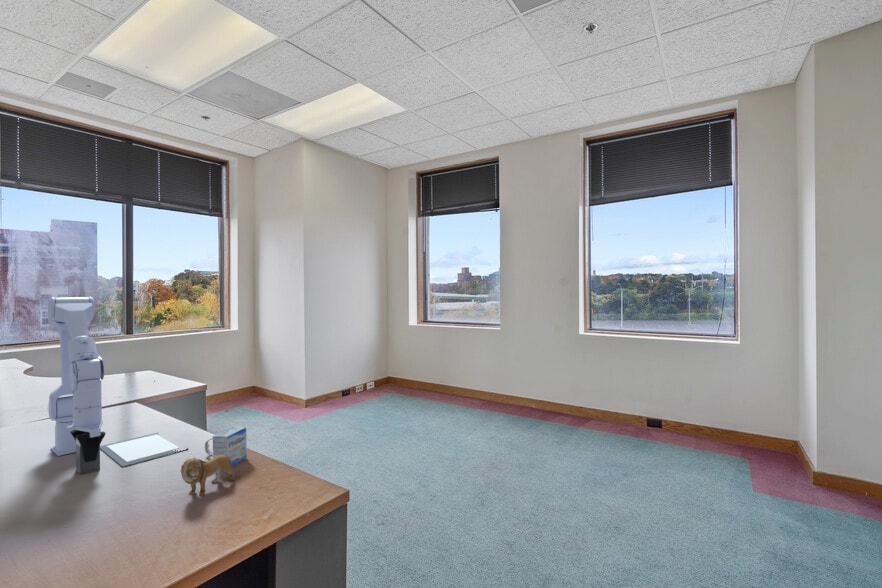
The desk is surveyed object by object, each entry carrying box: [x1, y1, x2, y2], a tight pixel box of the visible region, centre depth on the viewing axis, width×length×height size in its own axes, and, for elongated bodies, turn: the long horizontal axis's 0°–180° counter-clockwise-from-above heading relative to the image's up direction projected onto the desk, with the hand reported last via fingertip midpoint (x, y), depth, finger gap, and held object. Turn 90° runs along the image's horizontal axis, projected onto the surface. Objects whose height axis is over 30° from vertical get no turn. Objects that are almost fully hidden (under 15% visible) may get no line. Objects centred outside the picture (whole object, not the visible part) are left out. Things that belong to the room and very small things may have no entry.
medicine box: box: [212, 426, 248, 468], centre depth 116 cm, size 8×4×9 cm, turn 168°
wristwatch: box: [204, 437, 213, 457], centre depth 122 cm, size 3×5×5 cm, turn 89°
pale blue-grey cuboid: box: [75, 434, 101, 476], centre depth 112 cm, size 4×4×9 cm
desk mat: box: [100, 432, 182, 468], centre depth 126 cm, size 22×16×1 cm
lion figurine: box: [180, 455, 236, 496], centre depth 102 cm, size 15×5×9 cm, turn 164°
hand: (88, 458), depth 112 cm, fingers closed on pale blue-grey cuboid, 4 cm apart
